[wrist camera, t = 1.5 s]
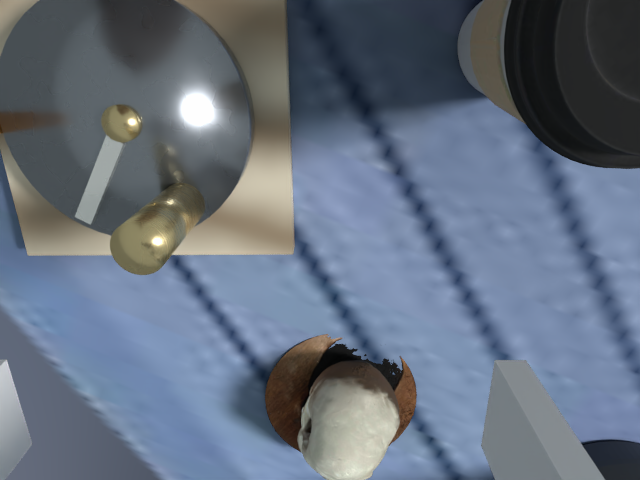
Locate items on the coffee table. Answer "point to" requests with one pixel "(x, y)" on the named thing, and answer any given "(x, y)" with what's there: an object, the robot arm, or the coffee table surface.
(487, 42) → the coffee cup
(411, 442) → the coffee table surface
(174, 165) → the turntable
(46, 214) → the base plate
